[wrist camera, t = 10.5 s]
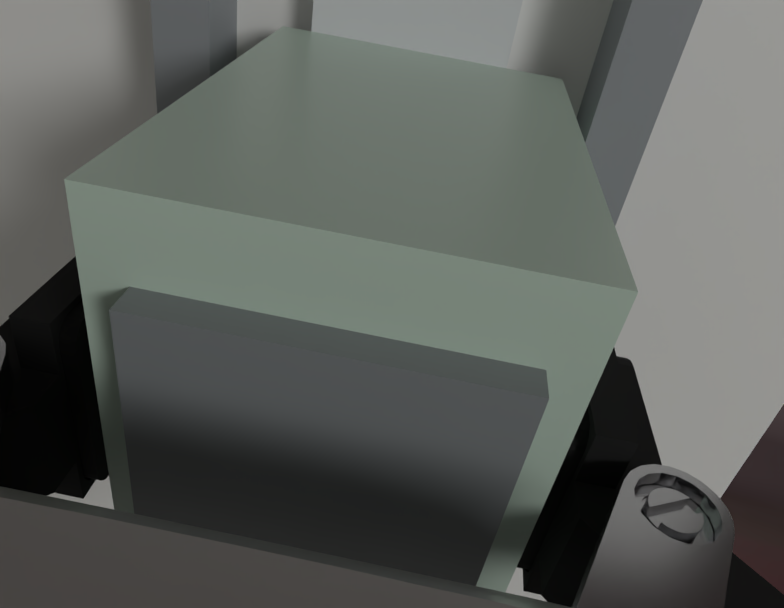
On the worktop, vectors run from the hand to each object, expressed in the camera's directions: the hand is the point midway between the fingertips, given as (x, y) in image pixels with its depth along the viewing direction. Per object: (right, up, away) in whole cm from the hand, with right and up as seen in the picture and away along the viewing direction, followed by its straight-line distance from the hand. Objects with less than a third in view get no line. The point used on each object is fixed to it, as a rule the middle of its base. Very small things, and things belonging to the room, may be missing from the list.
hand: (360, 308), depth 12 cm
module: (0, +1, +2) cm, 2 cm away
